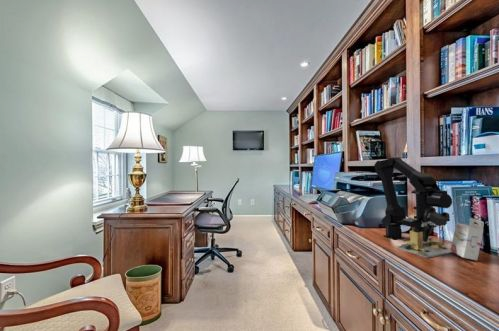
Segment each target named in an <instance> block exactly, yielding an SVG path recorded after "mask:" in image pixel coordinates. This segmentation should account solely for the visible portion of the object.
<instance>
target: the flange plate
mask: <svg viewBox="0 0 499 331" xmlns="http://www.w3.org/2000/svg"><path fill="white" fill-rule="evenodd" d="M442 246H445V245H443V244H442ZM397 249H400V250H402V251H405V252H408V253H411V254H414V255H416V256H420V257H423V258H425V259H428V258H434V257H435V258H436V257H441V256H446V255H451V254H452V255H453V254H455V253H454V252H452V251H451V246H447V245H446V246H445V248H442V247H435V246H432V245H427V246H423V249H425V251H423V250H416V249H413V248H408V249H404V248H401V246H400V245H399V246H397Z"/></svg>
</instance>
